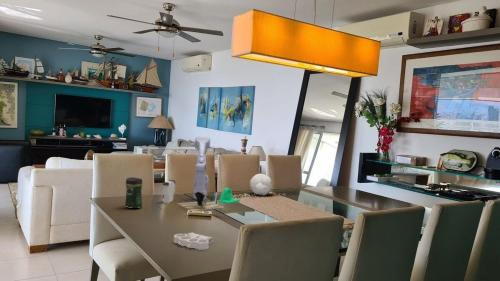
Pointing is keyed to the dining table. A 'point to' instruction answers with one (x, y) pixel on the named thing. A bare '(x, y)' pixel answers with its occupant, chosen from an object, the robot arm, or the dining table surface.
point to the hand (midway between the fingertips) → (199, 204)
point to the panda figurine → (168, 191)
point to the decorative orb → (260, 184)
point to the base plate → (194, 206)
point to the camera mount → (227, 197)
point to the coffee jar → (133, 192)
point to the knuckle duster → (193, 240)
